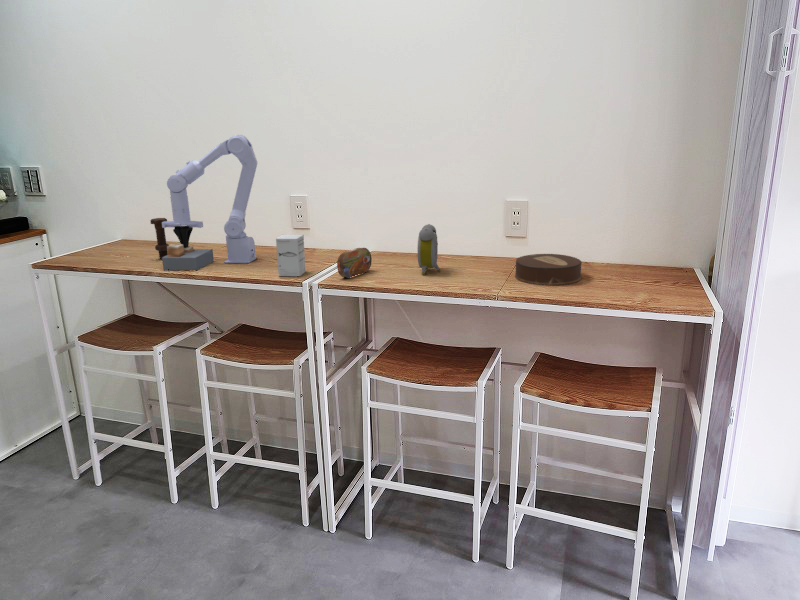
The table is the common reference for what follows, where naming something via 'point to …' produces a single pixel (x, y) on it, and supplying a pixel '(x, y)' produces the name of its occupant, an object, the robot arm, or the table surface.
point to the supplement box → (290, 255)
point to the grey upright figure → (427, 248)
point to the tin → (354, 262)
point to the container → (548, 269)
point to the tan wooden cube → (188, 249)
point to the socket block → (189, 260)
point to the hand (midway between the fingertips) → (185, 247)
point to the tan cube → (175, 250)
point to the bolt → (160, 237)
